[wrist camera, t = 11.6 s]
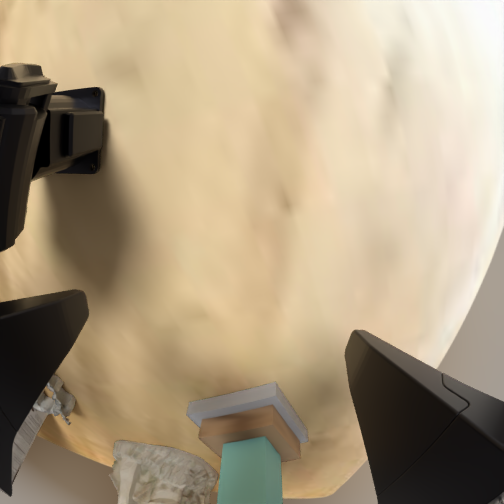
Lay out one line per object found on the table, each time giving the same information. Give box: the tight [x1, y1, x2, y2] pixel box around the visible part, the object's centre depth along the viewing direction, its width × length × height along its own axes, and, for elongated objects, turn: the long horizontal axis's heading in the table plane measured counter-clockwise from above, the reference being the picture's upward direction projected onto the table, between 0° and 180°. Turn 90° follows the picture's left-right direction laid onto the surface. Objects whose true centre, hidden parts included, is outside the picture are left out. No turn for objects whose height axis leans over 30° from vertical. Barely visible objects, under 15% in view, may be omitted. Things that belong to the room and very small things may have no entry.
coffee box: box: [12, 407, 48, 484], centre depth 27 cm, size 9×6×16 cm
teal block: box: [217, 436, 283, 504], centre depth 22 cm, size 4×4×11 cm
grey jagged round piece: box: [108, 440, 218, 504], centre depth 32 cm, size 16×16×15 cm
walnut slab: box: [198, 404, 301, 462], centre depth 28 cm, size 8×8×2 cm
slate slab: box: [186, 382, 308, 443], centre depth 30 cm, size 10×10×2 cm
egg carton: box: [33, 374, 76, 425], centre depth 30 cm, size 11×8×4 cm
